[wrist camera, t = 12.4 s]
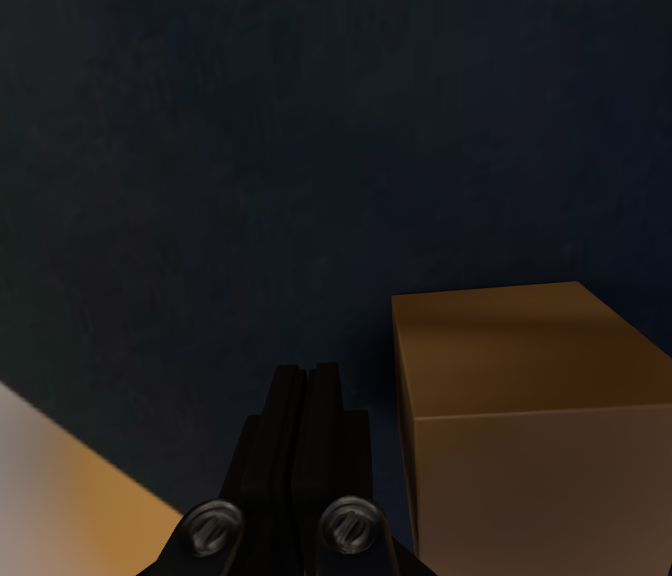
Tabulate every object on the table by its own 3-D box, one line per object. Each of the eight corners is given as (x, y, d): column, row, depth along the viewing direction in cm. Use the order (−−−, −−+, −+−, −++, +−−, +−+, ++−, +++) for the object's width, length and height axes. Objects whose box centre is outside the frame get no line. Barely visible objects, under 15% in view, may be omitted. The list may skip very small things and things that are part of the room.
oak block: (399, 432, 14) (420, 599, 9) (390, 294, 12) (413, 419, 7) (557, 424, 13) (663, 594, 9) (577, 280, 11) (728, 402, 7)
